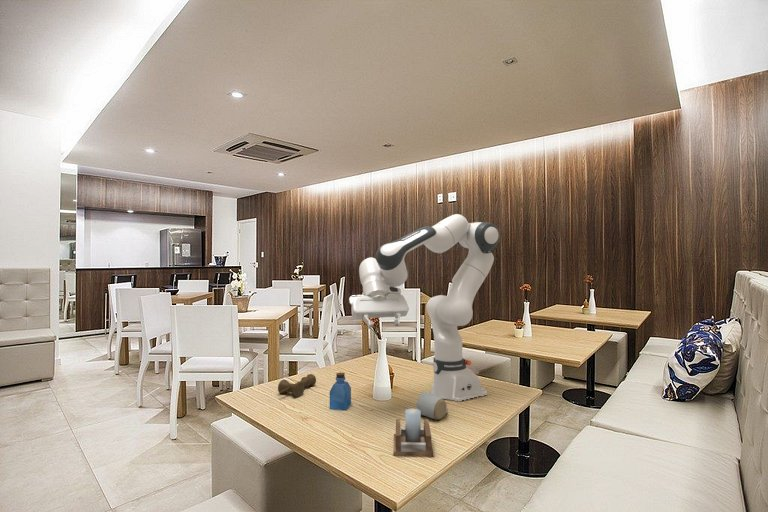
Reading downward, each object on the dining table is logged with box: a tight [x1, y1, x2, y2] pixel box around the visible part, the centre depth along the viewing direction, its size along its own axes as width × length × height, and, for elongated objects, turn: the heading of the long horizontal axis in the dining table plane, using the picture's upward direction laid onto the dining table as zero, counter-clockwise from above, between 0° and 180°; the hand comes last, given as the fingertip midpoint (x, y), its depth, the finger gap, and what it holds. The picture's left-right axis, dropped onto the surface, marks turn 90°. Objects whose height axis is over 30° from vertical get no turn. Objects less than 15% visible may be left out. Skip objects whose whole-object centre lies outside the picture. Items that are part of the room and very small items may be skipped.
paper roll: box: [404, 407, 422, 443], centre depth 110 cm, size 4×4×9 cm
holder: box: [392, 418, 435, 457], centre depth 109 cm, size 11×11×6 cm
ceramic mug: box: [416, 391, 449, 421], centre depth 131 cm, size 11×8×8 cm
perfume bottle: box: [329, 372, 352, 411], centre depth 140 cm, size 6×6×12 cm
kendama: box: [277, 373, 317, 398], centre depth 155 cm, size 6×10×20 cm
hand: (384, 326), depth 129 cm, fingers open, 8 cm apart
